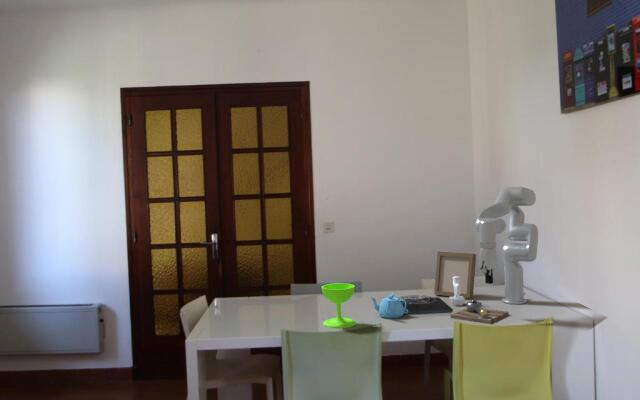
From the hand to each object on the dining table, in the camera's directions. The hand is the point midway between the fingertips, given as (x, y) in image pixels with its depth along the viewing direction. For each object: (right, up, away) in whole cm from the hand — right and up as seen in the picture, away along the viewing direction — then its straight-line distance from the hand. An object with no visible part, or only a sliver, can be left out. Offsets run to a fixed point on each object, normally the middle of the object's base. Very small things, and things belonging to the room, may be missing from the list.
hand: (489, 283), depth 272 cm
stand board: (-4, -16, +1) cm, 17 cm away
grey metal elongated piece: (-5, -15, 0) cm, 16 cm away
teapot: (-47, -18, +9) cm, 51 cm away
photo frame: (-3, -15, +50) cm, 52 cm away
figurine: (-9, -16, +27) cm, 33 cm away
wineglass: (-73, -19, -3) cm, 75 cm away
